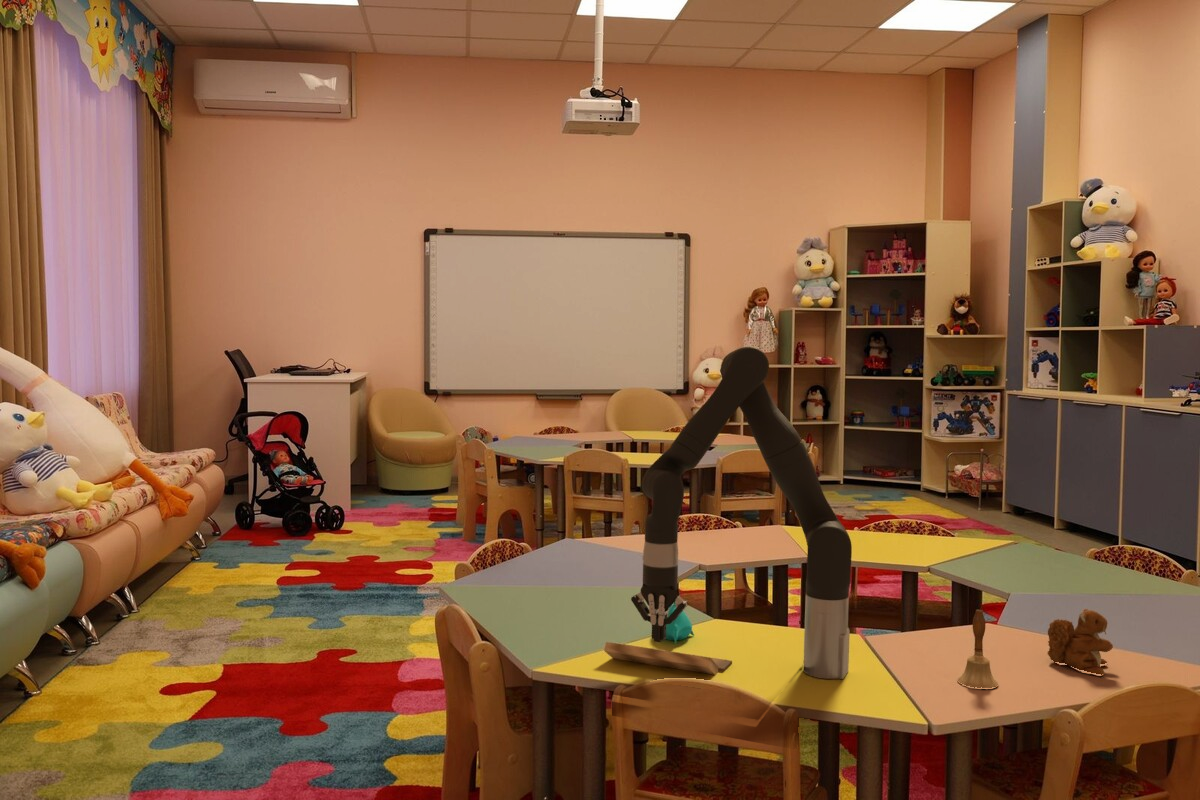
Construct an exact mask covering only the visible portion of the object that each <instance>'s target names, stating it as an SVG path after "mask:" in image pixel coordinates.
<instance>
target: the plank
mask: <svg viewBox="0 0 1200 800" xmlns="http://www.w3.org/2000/svg"><path fill="white" fill-rule="evenodd" d="M629 645H630V644H625V645H623V643H622V644H621V643H616V642H615V643H613V642H609V641H606V642H605V646H604V649H603V652H604V653H606V654H607V655H608V656H610V657H611V658H612V659H615V660H621V661H626V662H627V661H628V662H634V663H640V664H645V665H646V664H647V665H652V666H658V667H663V668H664V667H665V668H671V669H677V670H684V671H690V672H697V673H701V674H702V673H703V674H709V675H715V676H716V675H717V674H718V673H719V671H718V669H719V667H718V666H717V664H716V663H715V662H714V661H713V660H712V659H711V658H712V657H710V658H708V656H704V657H701V656H702V655H697V656H695V655H696V654H691V655H688V654H689V653H684V654H681V653H682V652H678V653H675V652H676V651H671V652H668V651H669V650H664V651H662V650H663V649H658V650H655V649H656V648H651V649H649V648H650V647H645V648H642V647H643V646H638V647H636V646H637V645H632V646H629Z"/></svg>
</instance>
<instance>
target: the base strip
mask: <svg viewBox="0 0 1200 800" xmlns="http://www.w3.org/2000/svg"><path fill="white" fill-rule="evenodd" d="M622 644H623V643H622ZM623 645H626V644H623ZM628 645H629V646H633V645H632V644H628ZM635 646H636V647H639V646H638V645H635ZM641 647H642V648H646V647H644V646H641ZM648 648H649V649H652V648H650V647H648ZM654 649H655V650H659V649H657V648H654ZM661 650H662V651H665V650H664V649H661ZM667 651H668V652H672V651H669V650H667ZM674 652H675V653H679V652H676V651H674ZM680 653H681V654H685V653H683V652H680ZM687 654H688V655H692V654H690V653H687ZM694 655H695V656H698V655H696V654H694ZM700 656H701V657H705V656H703V655H700ZM707 657H708V656H707ZM708 658H711V659H712V660H713V661H714V662H715V663H716V664H717V666H718V667H719V669H718V673H725V672H726V670H728V669H729V668H730V667H731V666H732V664H733V660H729V659H723V658H716V657H710V656H709V657H708Z"/></svg>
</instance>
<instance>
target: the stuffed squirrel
mask: <svg viewBox="0 0 1200 800" xmlns="http://www.w3.org/2000/svg"><path fill="white" fill-rule="evenodd" d="M1107 628H1108V620H1107V618H1106V617H1104V616H1103V615H1102V614H1101V613H1099V612H1098V611H1095V610H1092V609H1087V608H1085V609H1083V610H1082V612H1081V613H1079V616H1078V619H1077V625H1076V626H1075V627H1074V625H1073V622H1072V621H1069V620H1067V619H1059V618H1057V619H1054V620H1053V622H1050V623H1049V628H1047V636H1048V641H1047V643H1048V647H1049V650H1048V651H1047V655H1048V657H1049V659H1050V660H1051V661H1052V660H1053V661H1054V662H1053V661H1052V662H1053V663H1055V662H1059V663H1065V664H1067V665H1069V666H1068V667H1070V666H1072V667H1074V668H1077V669H1079V670H1084V671H1087V672H1091V673H1096V674H1101V675H1102V674H1104V675H1105V671H1104V669H1103V667H1100V664H1105V663H1108V661H1107V660H1106V659H1104V658H1102V654H1101V653H1100V652H1102V653H1108V652H1110V651H1112V650H1113V647H1114V645H1113V644H1112V642H1111V641H1110V640H1108V639H1105V638H1102V637H1100V636H1099V634H1103V633H1104V634H1105V635H1107V632H1106V630H1107Z"/></svg>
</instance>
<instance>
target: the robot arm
mask: <svg viewBox="0 0 1200 800" xmlns="http://www.w3.org/2000/svg"><path fill="white" fill-rule="evenodd" d="M769 362H770V361H769V359H768V356H767V355H766V354H765V352H764V351H763V350H762V349H760V348H758V347H755V346H743V347H740V348H737V349H735V350H733V351H730V352H728V354H726V355H725V356H724V358H723V359H722V361H721V364H720V376H721V380H720V382H719V384H718V385H717V387H716V388H715V389H714V391H713V393H711V395H710V396H709V398H708V399H707V400H706V401H705V402H704V404H702V406H701V407H700V408H699V409H698V410H697V411H696V412H695V414H694V415H692V417H691V418H690V419H689V420H688V421H687V423H686V424H685V425H684V427H683V428H682V429H681V431H680V432H679V433H678V435H677V436H676V437H675V439H674V440H673V442H672V443H671V445H670V446H669V448H668V449H667V450H666V451H665V452H663V453H662V454H661V455H660V456H659V457H658V458H657V459H656V460H655V461H654V462H653V463H652V464H651V466H649V468H648V469H647V470H646V472H645V474H644V475H643V477H642V481H641V488H642V492H643V494H644V495H645V496H646V497H647V498H649V499H650V500H652V506H651V507H652V508H651V513H649V514H648V515H647V516H646V519H645V523H644V545H643V551H642V553H643V555H642V586H641V588H640V591H639V593H637V594H634V595H633V596H631V599H630V600H631V602H632V603H633V605H634V606H635V608H636V610H637V611H638V614H640V616H641V618H642V620H643V621H645V622H650V624H651V639H653V642H655V643H660V644H661V643H662V642H663V641H664V640H666V639H665V638H666V625H667V624H671V623H672V622H673V621H675V620H676V618H677V617H678V616H679V615H680V614H681V613H682V611H684V610H686V608H687V607H688V606H689V601H688V600H684V599H683V598H682V597H681V596H680V591H679V589H678V584H679V583H678V580H679V579H678V578H679V548H678V547H679V546H678V540H679V538H678V535H679V533H678V531H679V528H678V527H679V525H678V524H679V518H680V517H681V516H680V515H681V511H682V508H683V501H684V497H685V496H684V495H685V487H684V484H683V481H682V478H681V477H682V475H683V474H684V473H686V472H687V471H690V470H692V469H693V470H694V468H695V467H697V466H698V465H699V463H700V462H701V460H702V459H703V457H704V456H705V455H706V454H707V452H708V450H709V449H710V448H711V446H712V445H713V443H714V442H715V440H716V439H717V438H718V436H719V434H720V433H721V431H722V430H723V429H724V427H725V426H726V425H727V423H728V421H729V420H730V418H731V417H732V416H733V415H734V413H735V412H736V411H737V410H738V409H740V410H741V412H742V413H743V415H744V418H745V420H746V422H747V425H748V427H749V430H750V431H751V434H752V436H753V439H754V441H755V443H756V444H757V447H758V448H759V449H758V450H760V453H761V456H762V458H763V460H764V463H765V464H766V466H767V468H768V470H769V472H770V474H771V476H772V477H773V479H774V481H775V483H776V484H777V486H778V487H779V489H780V491H781V492H782V493H783V495H784V496H785V497H786V499H787V501H788V502H789V503H790V504H791V507H792V508H793V510H794V511H795V513H796V517H797V518H798V521H799V524H800V525H801V526H800V527H801V529H802V532H803V534H804V537H805V540H806V545H807V555H806V556H807V559H806V560H807V562H806V579H805V601H804V602H805V603H804V604H805V605H804V606H805V607H804V608H805V609H804V611H805V612H804V632H803V633H804V635H803V637H804V638H803V660H802V661H803V663H802V664H803V669H802V670H803V672H804V673H805V674H806V675H808V676H811V677H813V678H818V679H819V678H820V679H830V680H831V679H832V680H834V679H841V680H843V679H844V678H846V676H847V674H848V672H849V668H850V667H849V663H850V636H851V635H850V628H849V601H850V600H849V599H850V597H849V596H850V586H851V579H852V577H851V573H852V549H853V548H852V546H853V545H852V540H851V537H850V536H849V535H850V534H849V533H848V531H847V530H846V527H844V525H843V524H842V522H841V521H840V520H839V518H838V516H837V515H836V513H835V511H834V510H833V509H832V506H831V505H830V503H829V502H828V499H827V498H826V496H825V494H824V492H823V489H822V487H821V483H820V479H819V477H818V473H817V471H816V468H815V466H814V463H813V460H812V458H811V457H810V454H809V451H808V450H807V448H806V446H805V444H804V442H803V439H802V438H801V435H800V434H799V432H798V431H797V430H796V429H795V427H794V426H793V424H792V422H790V421H789V419H788V418H787V417H786V416H785V415H784V413H782V411H781V410H780V409H779V408H778V406H777V405H776V403H775V402H774V401H773V398H772V396H771V394H770V393H769V391H768V387H767V385H766V383H765V380H766V379H767V377H768V375H769V371H770V363H769ZM675 601H676V604H675V607H676V609H675V610H674V611H673V613H672V614H671V615H670V616H669V617H668V613H669V608H670V607H671V606H672V605H674V602H675ZM645 602H646V603H645ZM647 605H648V606H647Z"/></svg>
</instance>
